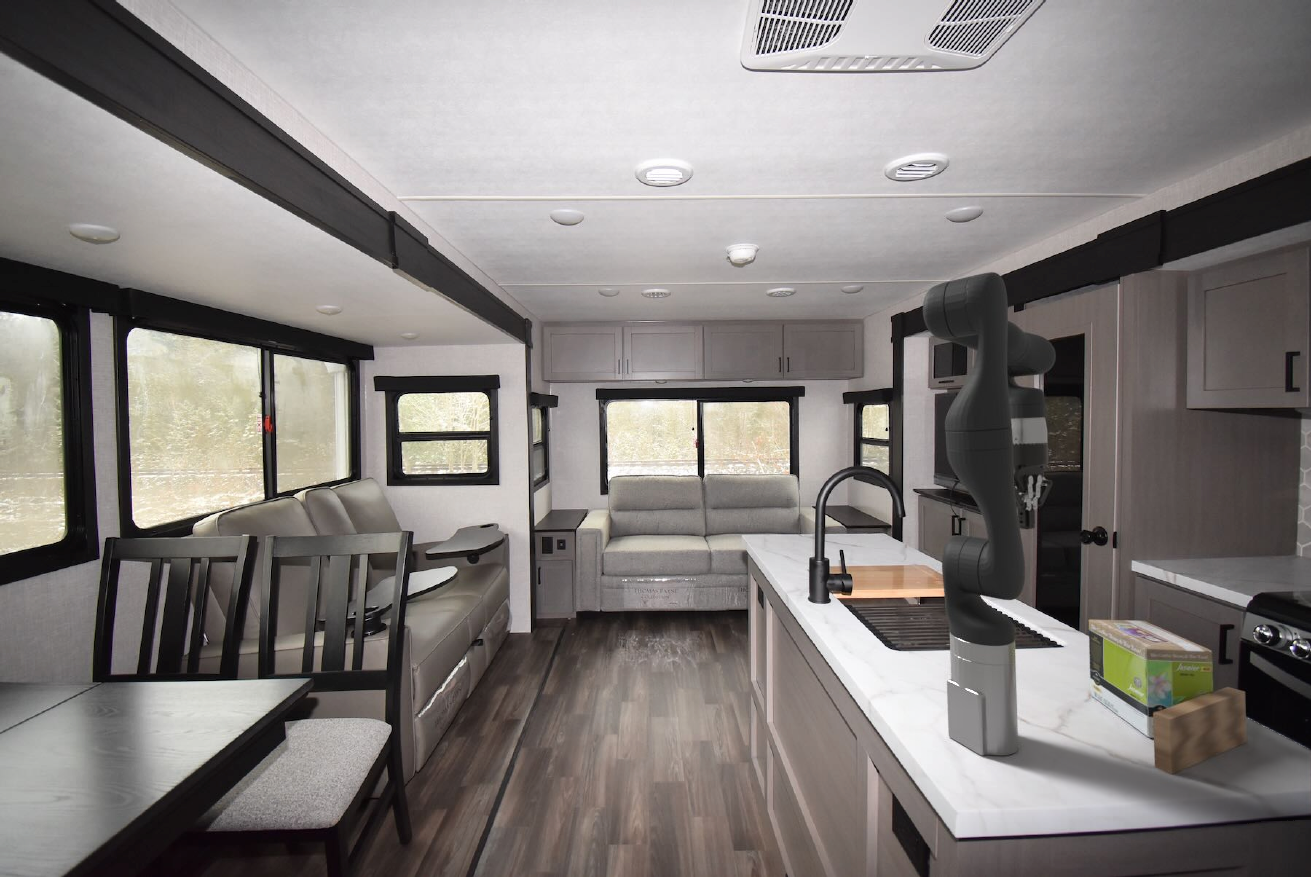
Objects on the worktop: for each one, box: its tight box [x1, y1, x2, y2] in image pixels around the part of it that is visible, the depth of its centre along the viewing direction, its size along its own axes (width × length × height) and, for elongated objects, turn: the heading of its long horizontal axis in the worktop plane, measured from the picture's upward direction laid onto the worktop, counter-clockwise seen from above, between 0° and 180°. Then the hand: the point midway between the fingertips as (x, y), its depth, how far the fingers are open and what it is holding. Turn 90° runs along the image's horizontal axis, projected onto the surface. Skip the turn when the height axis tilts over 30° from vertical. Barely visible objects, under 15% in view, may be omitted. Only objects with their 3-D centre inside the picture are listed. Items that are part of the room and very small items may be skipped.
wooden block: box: [1153, 686, 1248, 775], centre depth 83 cm, size 20×2×8 cm, turn 111°
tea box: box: [1088, 619, 1214, 739], centre depth 94 cm, size 15×10×15 cm
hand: (1026, 528), depth 108 cm, fingers closed
